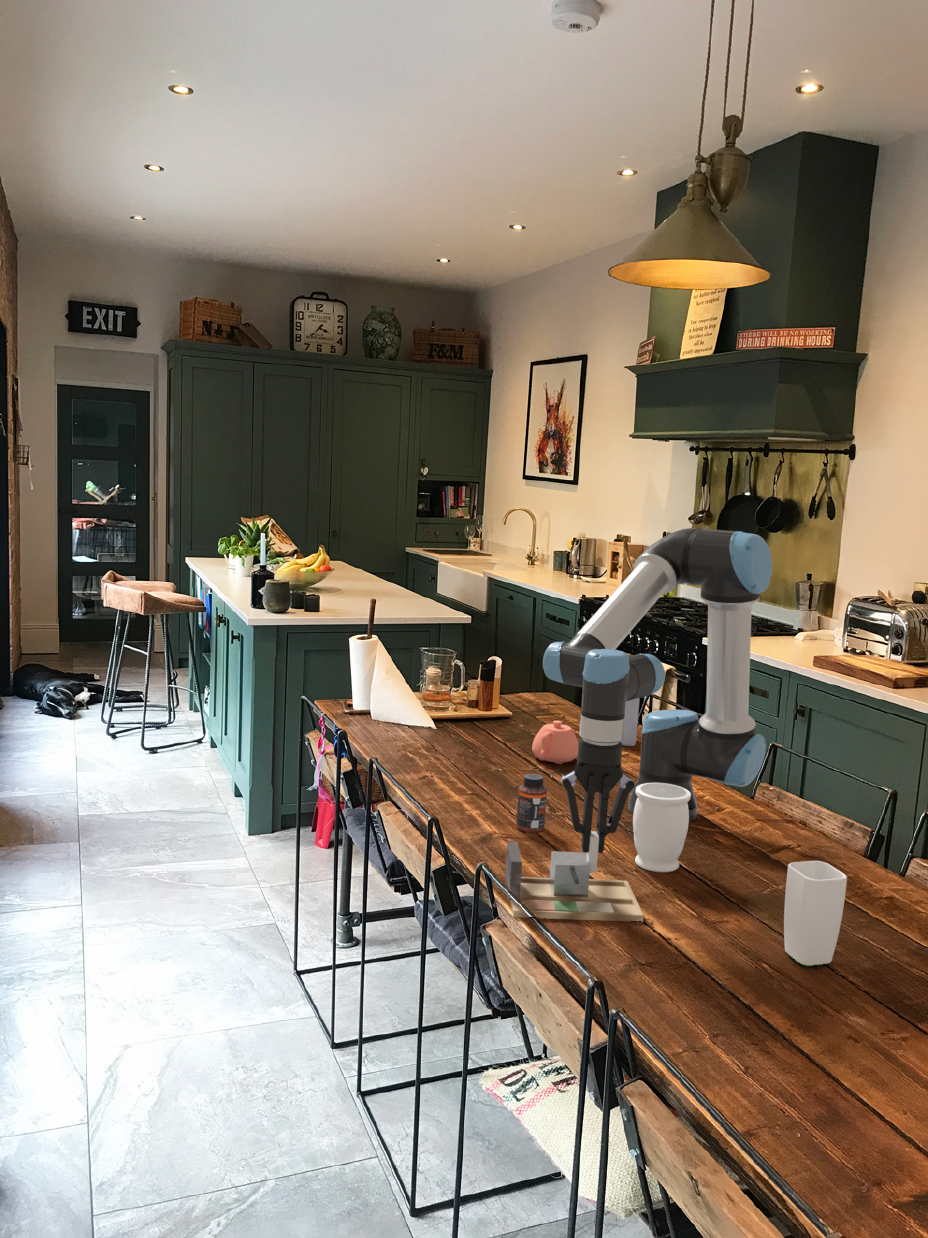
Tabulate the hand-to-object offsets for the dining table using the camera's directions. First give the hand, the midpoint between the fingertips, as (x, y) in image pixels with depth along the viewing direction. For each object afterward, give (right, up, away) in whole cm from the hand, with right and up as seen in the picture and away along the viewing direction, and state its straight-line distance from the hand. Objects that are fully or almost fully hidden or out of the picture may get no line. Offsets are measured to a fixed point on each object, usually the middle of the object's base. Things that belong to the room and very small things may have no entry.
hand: (590, 869), depth 175 cm
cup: (+32, -10, -17) cm, 38 cm away
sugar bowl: (+1, +7, +84) cm, 84 cm away
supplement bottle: (-8, 0, +34) cm, 35 cm away
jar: (+15, -4, +18) cm, 24 cm away
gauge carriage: (-4, -4, -2) cm, 6 cm away
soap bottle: (+21, +9, +104) cm, 107 cm away
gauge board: (-3, -5, -1) cm, 6 cm away
